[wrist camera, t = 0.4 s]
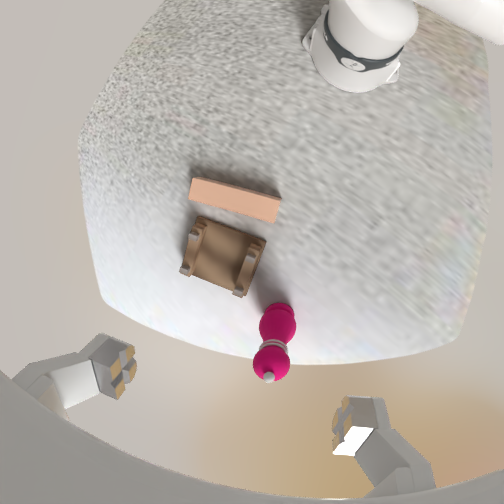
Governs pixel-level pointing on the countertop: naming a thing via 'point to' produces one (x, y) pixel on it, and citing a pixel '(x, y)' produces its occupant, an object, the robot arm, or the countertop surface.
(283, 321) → the pepper mill
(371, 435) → the robot arm
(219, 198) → the peach rectangular block
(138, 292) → the countertop surface
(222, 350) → the countertop surface
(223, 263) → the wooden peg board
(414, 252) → the countertop surface
